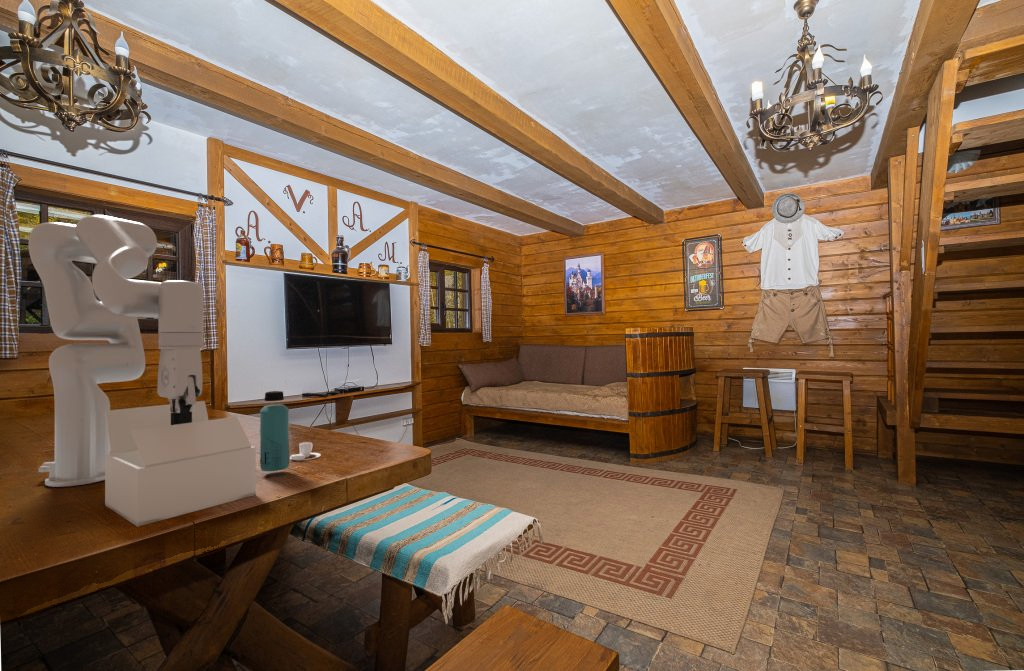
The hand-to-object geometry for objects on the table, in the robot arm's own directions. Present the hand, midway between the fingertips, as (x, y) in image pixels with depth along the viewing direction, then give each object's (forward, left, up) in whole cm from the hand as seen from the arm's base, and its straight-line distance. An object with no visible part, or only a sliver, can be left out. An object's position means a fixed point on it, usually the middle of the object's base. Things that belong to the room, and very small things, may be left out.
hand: (181, 431), depth 95 cm
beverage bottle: (+12, +17, -14) cm, 25 cm away
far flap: (-8, +7, 0) cm, 10 cm away
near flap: (+5, -4, -1) cm, 7 cm away
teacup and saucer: (+10, +32, -14) cm, 37 cm away
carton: (+1, 0, -14) cm, 14 cm away
